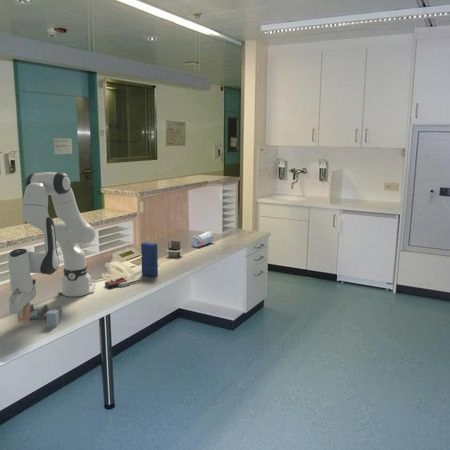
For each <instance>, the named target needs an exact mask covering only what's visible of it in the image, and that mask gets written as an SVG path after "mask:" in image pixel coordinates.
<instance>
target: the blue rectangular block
mask: <svg viewBox="0 0 450 450" xmlns="http://www.w3.org/2000/svg"><path fill="white" fill-rule="evenodd" d="M140 247H141V248H140V249H141V250H140V251H141V275H144V276H148V275H149V277H156V276H158V273H159V270H158V269H159V268H158V266H159V265H158V263H159V262H158V260H159V259H158V243H155V242H147V241H144V242H141V243H140Z"/></svg>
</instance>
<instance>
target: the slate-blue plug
mask: <svg viewBox="0 0 450 450" xmlns="http://www.w3.org/2000/svg"><path fill="white" fill-rule="evenodd" d="M46 315H47V320H46V327H47V328H57V327H58V326H59V324H60V315H59V310H49V311H48V312H47V313H46Z"/></svg>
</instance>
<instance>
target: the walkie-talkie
mask: <svg viewBox="0 0 450 450" xmlns="http://www.w3.org/2000/svg"><path fill="white" fill-rule="evenodd" d="M140 281H141V280H140V279H137V280H133V281H128V280H127V279H126V278H125V277H122V276H119V277H115V278H114V279H110V280H108V281H104V286H105V287H106V288H108V289H110V290H111V289H115V288H123V287H127V286H130V285H131V284H134V283H137V282H140Z"/></svg>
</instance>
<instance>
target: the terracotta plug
mask: <svg viewBox="0 0 450 450" xmlns="http://www.w3.org/2000/svg"><path fill="white" fill-rule="evenodd" d="M30 305H31V303H30V304H27V305H26V306H25V307H24V308H23V310H22V311H23V313H24V316H23V317H22V318H20V317H19V314H18V313H17V319H18V322H28V321H30V320H31V319H30V318H31V312H30Z"/></svg>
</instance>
